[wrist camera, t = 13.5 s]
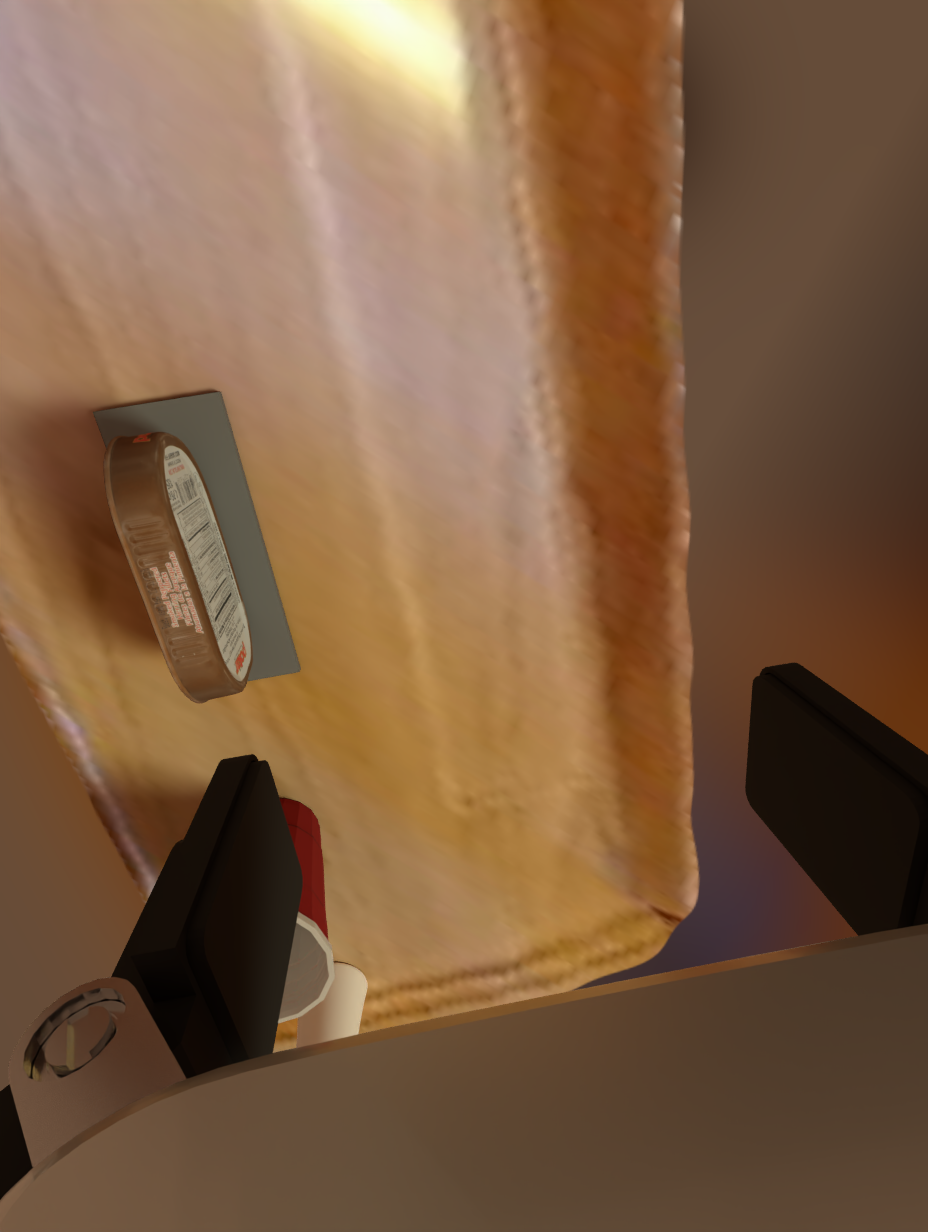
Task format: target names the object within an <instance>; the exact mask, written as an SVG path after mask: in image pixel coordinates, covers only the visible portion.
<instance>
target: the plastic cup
mask: <svg viewBox="0 0 928 1232" xmlns="http://www.w3.org/2000/svg"><path fill="white" fill-rule="evenodd" d="M280 802H281V805H282V808H283V811H284V815H285V818H286V821H287V824H288V827H289V831H290V834H291V837H292V840H293V844H294V847H295V850H296V853H297V856H298V860H299V863H300V866H301V870H302V876H303V888H302V894H301V900H300V905H299V911H298V916H297V922H296V927H295V933H294V938H293V944H292V949H291V955H290V960H289V966H288V971H287V977H286V982H285V988H284V993H283V998H282V1004H281V1009H280V1015H279V1020H278V1023H281V1022H284V1021H288V1020H291V1019H294V1018H297V1017H301V1016H303V1015H304V1014H305V1013H307V1012H308V1011H309V1010H311V1009H312V1008H313V1007H315V1006H316V1005H317V1004H319V1003H320V1002H321V1001H323V1000H324V998H325V996H326V994H327V992H328V990H329V988H330V986H331V984H332V982H333V980H334V978H335V972H334V962H333V953H332V945H331V944H330V942H329V940H328V930H327V921H326V911H325V890H324V867H323V856H322V849H321V835H320V825H319V824H318V819H317V818H316V816H315V815H314V813H313V812H312V810H311V809H309V808H308V807H306V806H305V805H303V804H302V803H300V802H297V801H294V800H290V799H286V798H283V799H280Z"/></svg>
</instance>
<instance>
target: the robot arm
mask: <svg viewBox="0 0 928 1232" xmlns="http://www.w3.org/2000/svg"><path fill="white" fill-rule="evenodd" d="M745 788H746V795H747V799H748V801H749V803H750V805H751V807H752V808H753V809H754V811H755V812H756V813H757V814H758V816H759V817H760V818H761V819H762V820H763V821H764V823H765V824H766V825H767V826H768V827H769V829H770V830H771V831H772V832H773V834H774V835H775V836H776V837H777V838H778V840H779V841H780V842H781V843H782V844H783V846H784V847H785V848H786V849H787V850H788V852H789V853H790V854H791V855H792V856H793V858H794V859H795V860H796V861H797V862H798V864H799V865H800V866H801V867H802V868H803V870H804V871H805V872H806V873H807V874H808V876H809V877H810V878H811V879H812V880H813V882H814V883H815V884H816V885H817V886H818V888H819V889H820V890H821V891H822V893H823V894H824V895H825V896H826V897H827V899H828V900H829V901H830V902H831V903H832V905H833V906H834V907H835V908H836V909H837V911H838V912H839V913H840V914H841V915H842V917H843V918H844V919H845V920H846V921H847V923H848V924H849V925H850V926H851V927H852V929H853V930H854V931H855V932H856V933H857V935H858V936H856V937H850V938H845V939H839V940H834V941H829V942H823V943H818V944H813V945H808V946H802V947H797V948H792V949H786V950H781V951H776V952H771V953H765V954H760V955H755V956H749V957H744V958H739V959H733V960H729V961H724V962H718V963H713V964H708V965H702V966H697V967H693V968H688V969H682V970H677V971H672V972H666V973H661V974H656V975H651V976H646V977H641V978H636V979H631V980H625V981H620V982H615V983H610V984H605V985H600V986H595V987H590V988H585V989H579V990H574V991H569V992H564V993H559V994H554V995H549V996H544V997H539V998H534V999H529V1000H524V1001H519V1002H514V1003H509V1004H504V1005H499V1006H494V1007H489V1008H484V1009H479V1010H474V1011H469V1012H464V1013H459V1014H454V1015H449V1016H444V1017H440V1018H435V1019H430V1020H425V1021H420V1022H415V1023H410V1024H405V1025H400V1026H395V1027H390V1028H385V1029H380V1030H376V1031H371V1032H366V1033H362V1034H357V1035H353V1036H348V1037H344V1038H339V1039H335V1040H330V1041H326V1042H321V1043H316V1044H312V1045H307V1046H303V1047H298V1048H294V1049H289V1050H285V1051H280V1052H276V1053H273V1048H274V1042H275V1037H276V1031H277V1026H278V1020H279V1015H280V1009H281V1004H282V998H283V993H284V988H285V982H286V977H287V971H288V966H289V960H290V955H291V949H292V944H293V938H294V933H295V927H296V922H297V916H298V911H299V905H300V900H301V894H302V888H303V876H302V870H301V866H300V863H299V860H298V856H297V853H296V850H295V847H294V844H293V840H292V837H291V834H290V831H289V827H288V824H287V821H286V818H285V815H284V811H283V808H282V805H281V802H280V798H279V795H278V792H277V789H276V786H275V782H274V779H273V776H272V773H271V770H270V767H269V764H268V762H267V761H266V760H263V761H258V759H257V757H256V756H255V755H253V754H251V755H245V756H239V757H234V758H228V759H223V760H221V761H220V763H219V764H218V766H217V769H216V771H215V773H214V775H213V777H212V780H211V782H210V784H209V786H208V788H207V790H206V793H205V795H204V797H203V799H202V801H201V803H200V806H199V808H198V810H197V812H196V814H195V816H194V819H193V821H192V823H191V825H190V827H189V830H188V832H187V834H186V836H185V838H184V840H181V841H179V842H178V843H176V844H175V846H174V847H173V849H172V850H171V852H170V854H169V856H168V859H167V861H166V863H165V865H164V867H163V869H162V871H161V873H160V875H159V877H158V880H157V882H156V884H155V886H154V888H153V890H152V892H151V894H150V896H149V898H148V901H147V903H146V905H145V907H144V909H143V911H142V913H141V915H140V917H139V920H138V922H137V924H136V926H135V928H134V930H133V932H132V934H131V936H130V939H129V941H128V943H127V945H126V947H125V949H124V951H123V953H122V955H121V957H120V959H119V962H118V964H117V966H116V968H115V970H114V972H113V974H112V976H111V977H108V978H100V979H96V980H93V981H91V982H88V983H85V984H83V985H80V986H78V987H76V988H75V989H73V990H71V991H70V992H68V993H66V994H64V995H63V996H61V997H60V998H58V999H57V1000H56V1001H55V1002H53V1003H52V1004H51V1005H50V1006H49V1007H47V1008H46V1009H45V1010H44V1011H42V1013H41V1014H40V1015H39V1016H38V1017H37V1018H36V1019H35V1020H34V1021H33V1022H32V1023H31V1025H30V1026H29V1027H28V1028H27V1029H26V1031H25V1032H24V1034H23V1035H22V1037H21V1039H20V1040H19V1042H18V1043H17V1045H16V1046H15V1048H14V1051H13V1054H12V1057H11V1060H10V1063H9V1083H10V1084H9V1085H8V1086H7V1087H5V1088H4V1089H3V1090H2V1091H0V1232H928V755H927V754H926V753H924V752H923V751H922V750H920V749H919V748H917V747H916V746H915V745H913V744H912V743H910V742H909V741H907V740H906V739H905V738H903V737H902V736H900V735H899V734H897V733H896V732H895V731H893V730H892V729H891V728H889V727H888V726H886V725H885V724H883V723H882V722H880V721H879V720H878V719H876V718H875V717H874V716H872V715H871V714H869V713H868V712H866V711H865V710H864V709H862V708H861V707H859V706H858V705H857V704H855V703H854V702H852V701H851V700H849V699H848V698H847V697H845V696H844V695H842V694H841V693H839V692H838V691H837V690H835V689H834V688H832V687H831V686H830V685H828V684H827V683H825V682H824V681H823V680H821V679H820V678H818V677H817V676H815V675H814V674H813V673H811V672H810V671H808V670H807V669H805V668H804V667H803V666H801V665H800V664H798V663H788V664H782V665H776V666H770V667H765V668H764V669H762V671H761V673H760V676H757V677H756V678H755V679H754V680H753V686H752V701H751V715H750V730H749V743H748V758H747V773H746V787H745Z"/></svg>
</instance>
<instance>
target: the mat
mask: <svg viewBox="0 0 928 1232" xmlns="http://www.w3.org/2000/svg"><path fill="white" fill-rule="evenodd" d="M93 414H94V417H95V419H96V422H97V425H98V427H99V430H100V433H101V435H102V438H103V441H104V443H105V446H106V449H107V447H108V444H109V442H110V441H111V440H112V439H113V438H114V437H116V436H128V437H130V436H136V435H142V434H147V433H153V432H166V433H169V434H171V435H173V436H176V437H177V438H179V439H180V440H181V441H182V442H183V443H184V444H185V445H186V447H187V448H188V449H189V451H190V452H191V454H192V455H193V457H194V459H195V461H196V462H197V464H198V466H199V468H200V471H201V473H202V475H203V477H204V480H205V482H206V485H207V488H208V490H209V493H210V496H211V499H212V502H213V505H214V508H215V511H216V514H217V518H218V521H219V524H220V527H221V530H222V533H223V536H224V540H225V543H226V546H227V549H228V552H229V555H230V559H231V562H232V565H233V569H234V572H235V575H236V579H237V582H238V585H239V589H240V592H241V595H242V599H243V602H244V605H245V609H246V612H247V617H248V621H249V626H250V631H251V638H252V648H253V663H252V667H251V670H250V673H249V677H248V681H252V680H257V679H263V678H268V677H274V676H279V675H285V674H290V673H296V672H300V669H301V668H300V664H299V661H298V657H297V654H296V650H295V647H294V644H293V640H292V637H291V633H290V630H289V626H288V623H287V619H286V616H285V612H284V609H283V605H282V602H281V598H280V595H279V592H278V588H277V585H276V581H275V578H274V574H273V571H272V567H271V564H270V560H269V557H268V553H267V550H266V546H265V543H264V540H263V536H262V533H261V529H260V526H259V522H258V519H257V515H256V512H255V508H254V505H253V501H252V498H251V494H250V491H249V488H248V484H247V481H246V477H245V474H244V470H243V467H242V463H241V460H240V456H239V453H238V449H237V446H236V442H235V439H234V436H233V432H232V429H231V425H230V422H229V418H228V415H227V411H226V408H225V404H224V401H223V397H222V394H221V392H215V393H208V394H202V395H196V396H190V397H183V398H177V399H171V400H165V401H158V402H152V403H146V404H140V405H133V406H127V407H121V408H115V409H108V410H102V411H96V412H93Z"/></svg>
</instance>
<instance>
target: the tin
mask: <svg viewBox="0 0 928 1232" xmlns="http://www.w3.org/2000/svg"><path fill="white" fill-rule="evenodd" d="M104 482H105V490H106V495H107V501H108V506H109V509H110V513H111V516H112V520H113V523H114V526H115V529H116V531H117V534H118V537H119V539H120V542H121V545H122V547H123V550H124V552H125V555H126V558H127V560H128V563H129V565H130V568H131V571H132V573H133V576H134V579H135V581H136V584H137V586H138V589H139V592H140V594H141V597H142V599H143V602H144V604H145V607H146V610H147V613H148V615H149V618H150V620H151V623H152V626H153V628H154V631H155V634H156V636H157V639H158V641H159V644H160V647H161V650H162V652H163V655H164V658H165V660H166V663H167V665H168V668H169V670H170V672H171V675H172V677H173V679H174V680H175V682H176V683H177V685H178V687H179V688H180V690H181V691H182V692H183V693H184V694H185V695H186V697H188V698H189V699H190V700H191V701H193V702H195V703H204V702H206V701H208V700H210V699H215V698H219V697H224V696H229V695H233V694H236V693H240V692H242V691H243V690H244V688H245V686H246V684H247V681H248V677H249V673H250V670H251V667H252V663H253V648H252V638H251V631H250V626H249V621H248V617H247V612H246V609H245V605H244V602H243V599H242V595H241V592H240V589H239V585H238V582H237V579H236V575H235V572H234V569H233V565H232V562H231V559H230V555H229V552H228V549H227V546H226V543H225V540H224V536H223V533H222V530H221V527H220V524H219V521H218V518H217V514H216V511H215V508H214V505H213V502H212V499H211V496H210V493H209V490H208V488H207V485H206V482H205V480H204V477H203V475H202V473H201V471H200V468H199V466H198V464H197V462H196V461H195V459H194V457H193V455H192V454H191V452H190V451H189V449H188V448H187V447H186V445H185V444H184V443H183V442H182V441H181V440H180V439H179V438H177V437H176V436H173V435H171V434H169V433H166V432H153V433H147V434H142V435H136V436H130V437H128V436H116V437H114V438H113V439H112V440H111V441H110V442H109V444H108V447H107V449H106V453H105V458H104Z"/></svg>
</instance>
